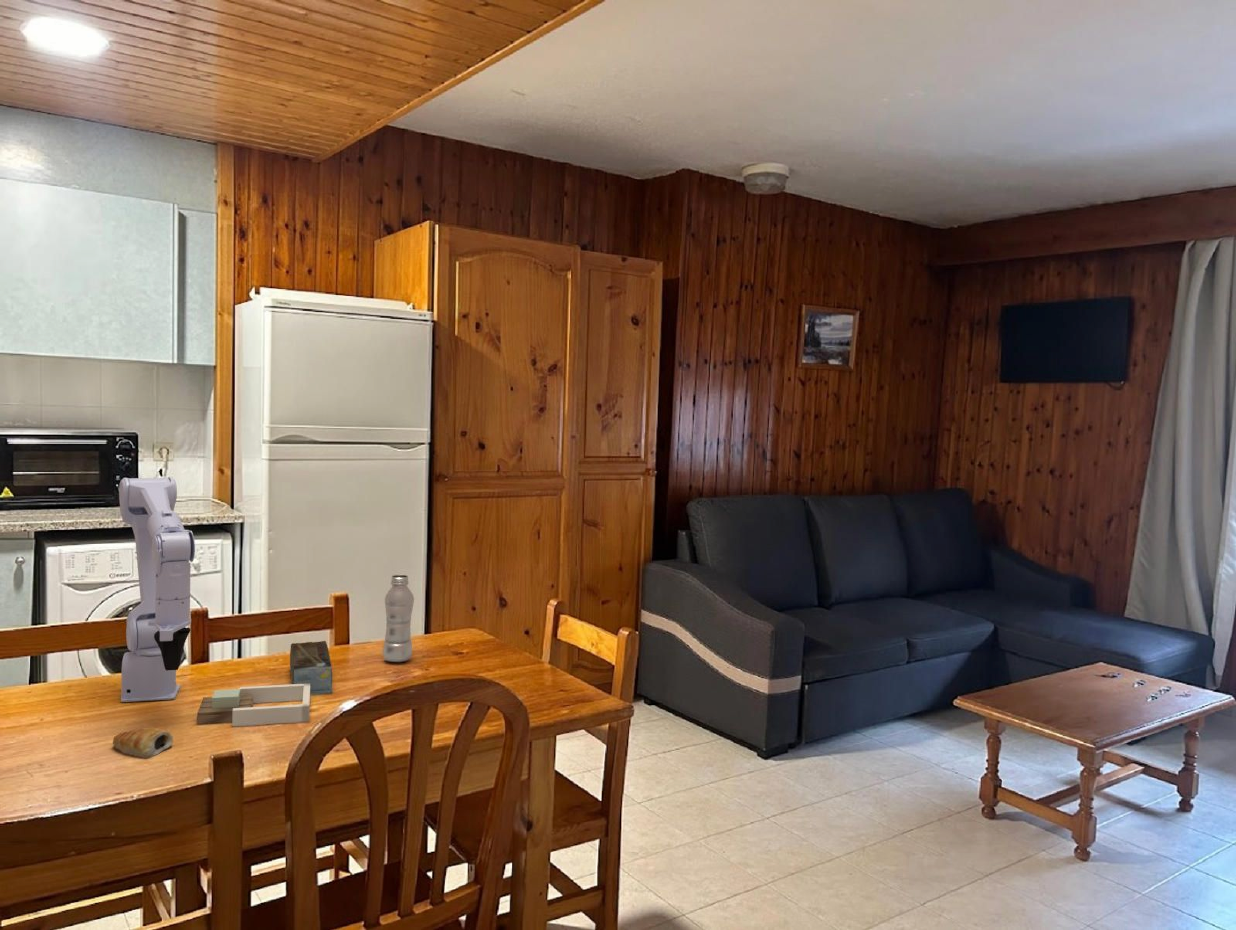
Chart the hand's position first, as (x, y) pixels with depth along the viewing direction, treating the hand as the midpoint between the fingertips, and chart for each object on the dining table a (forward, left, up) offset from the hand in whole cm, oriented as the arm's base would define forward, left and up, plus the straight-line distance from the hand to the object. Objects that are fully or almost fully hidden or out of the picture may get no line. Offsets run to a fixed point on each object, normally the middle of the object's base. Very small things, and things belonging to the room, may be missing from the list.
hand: (172, 669), depth 164 cm
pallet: (+9, 0, -10) cm, 14 cm away
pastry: (-2, -15, -10) cm, 18 cm away
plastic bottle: (+43, +29, -9) cm, 53 cm away
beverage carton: (+24, +18, -10) cm, 32 cm away
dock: (+17, 0, -9) cm, 20 cm away
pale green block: (+9, 0, -7) cm, 12 cm away
